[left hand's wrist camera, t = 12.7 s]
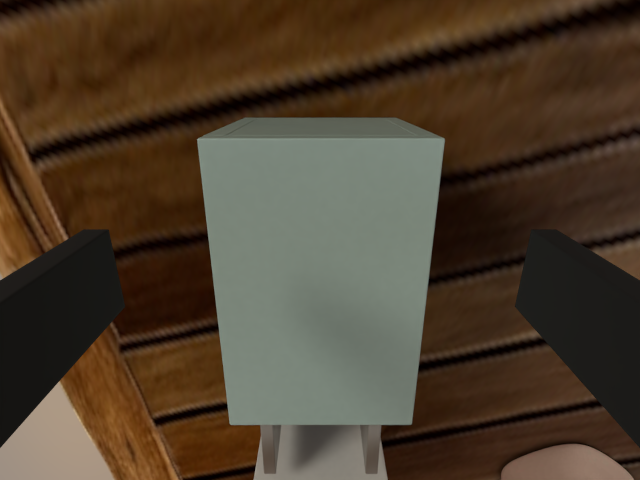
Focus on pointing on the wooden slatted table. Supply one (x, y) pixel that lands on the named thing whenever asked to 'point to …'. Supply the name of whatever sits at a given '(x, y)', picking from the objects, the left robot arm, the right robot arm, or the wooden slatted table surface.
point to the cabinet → (320, 265)
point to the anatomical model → (565, 465)
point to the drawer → (320, 453)
